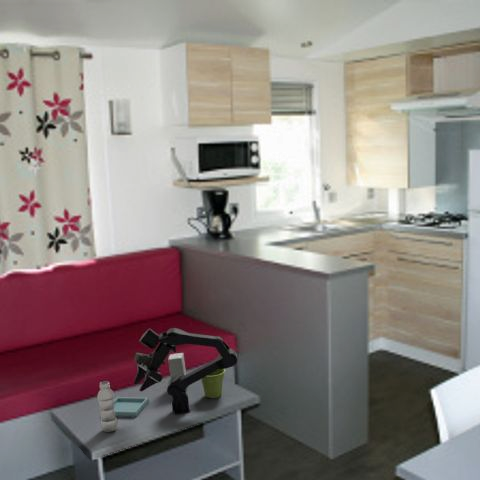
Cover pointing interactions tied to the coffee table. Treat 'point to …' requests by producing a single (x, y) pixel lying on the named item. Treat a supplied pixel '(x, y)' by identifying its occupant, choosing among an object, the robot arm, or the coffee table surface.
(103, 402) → the plastic bottle
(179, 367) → the skincare box
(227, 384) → the coffee table surface
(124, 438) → the coffee table surface
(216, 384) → the plant pot
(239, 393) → the coffee table surface
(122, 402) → the tray
